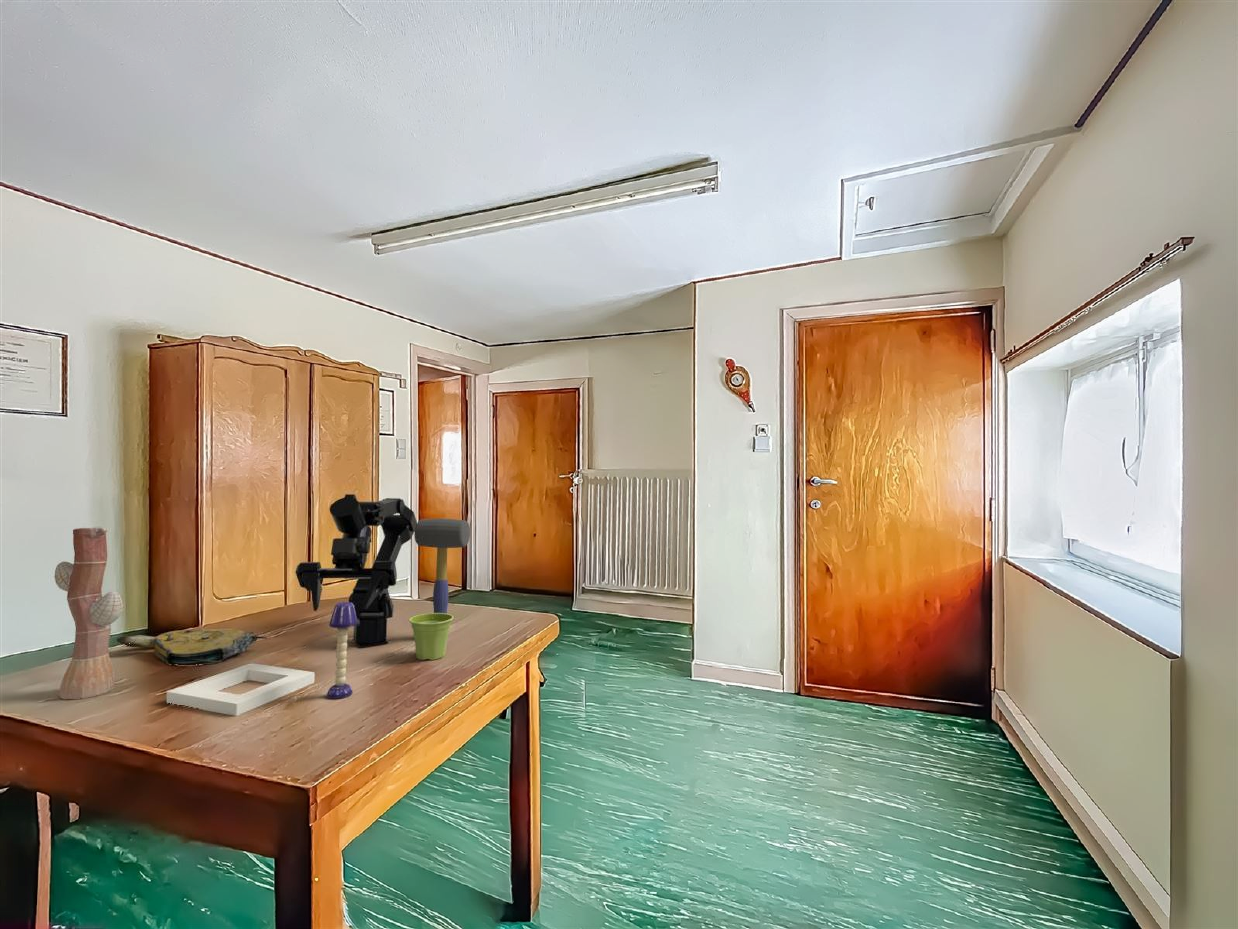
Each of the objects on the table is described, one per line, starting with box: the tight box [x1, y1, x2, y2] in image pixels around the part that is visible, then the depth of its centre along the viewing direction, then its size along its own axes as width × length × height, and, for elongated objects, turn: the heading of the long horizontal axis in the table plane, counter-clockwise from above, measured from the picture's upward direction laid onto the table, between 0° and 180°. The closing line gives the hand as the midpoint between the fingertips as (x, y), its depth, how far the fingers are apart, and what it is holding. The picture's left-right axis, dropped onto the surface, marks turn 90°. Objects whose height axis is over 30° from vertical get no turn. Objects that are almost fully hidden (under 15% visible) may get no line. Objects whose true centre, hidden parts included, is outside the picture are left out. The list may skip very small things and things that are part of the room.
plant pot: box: [408, 612, 454, 661], centre depth 125 cm, size 9×9×9 cm
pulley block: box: [115, 628, 268, 665], centre depth 123 cm, size 14×6×30 cm
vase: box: [53, 526, 124, 700], centre depth 101 cm, size 10×7×30 cm
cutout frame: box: [166, 662, 315, 717], centre depth 102 cm, size 16×16×2 cm
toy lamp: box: [326, 601, 357, 700], centre depth 102 cm, size 5×5×17 cm
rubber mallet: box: [413, 518, 471, 614], centre depth 140 cm, size 12×8×30 cm, turn 85°
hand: (340, 609), depth 111 cm, fingers open, 9 cm apart
